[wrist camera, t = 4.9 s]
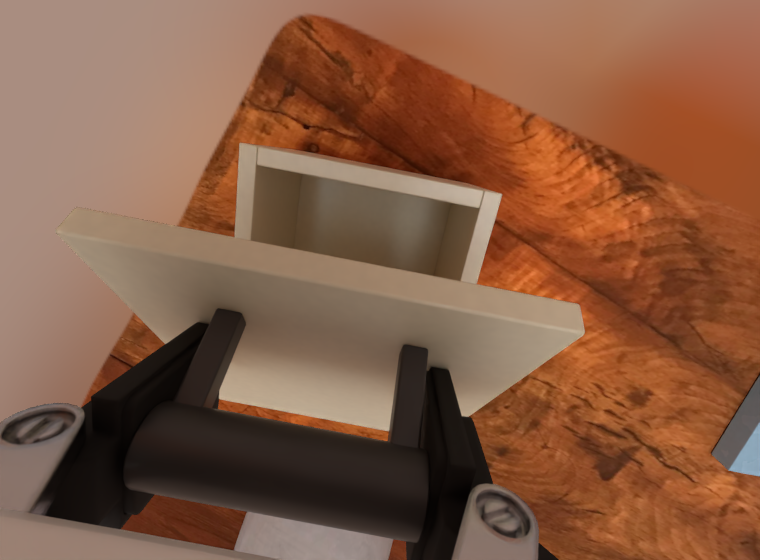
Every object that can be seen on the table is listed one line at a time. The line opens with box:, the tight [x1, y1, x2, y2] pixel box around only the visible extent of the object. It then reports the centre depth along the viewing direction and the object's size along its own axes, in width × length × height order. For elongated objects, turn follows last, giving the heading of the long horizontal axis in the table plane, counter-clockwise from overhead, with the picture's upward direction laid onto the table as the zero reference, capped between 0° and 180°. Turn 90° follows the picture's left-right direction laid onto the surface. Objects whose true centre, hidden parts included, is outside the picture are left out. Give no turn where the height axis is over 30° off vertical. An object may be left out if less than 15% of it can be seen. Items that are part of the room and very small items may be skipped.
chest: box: [235, 143, 502, 284], centre depth 22 cm, size 13×12×9 cm
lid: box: [55, 207, 585, 543], centre depth 12 cm, size 13×12×5 cm
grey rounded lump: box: [234, 512, 393, 560], centre depth 30 cm, size 15×14×15 cm
